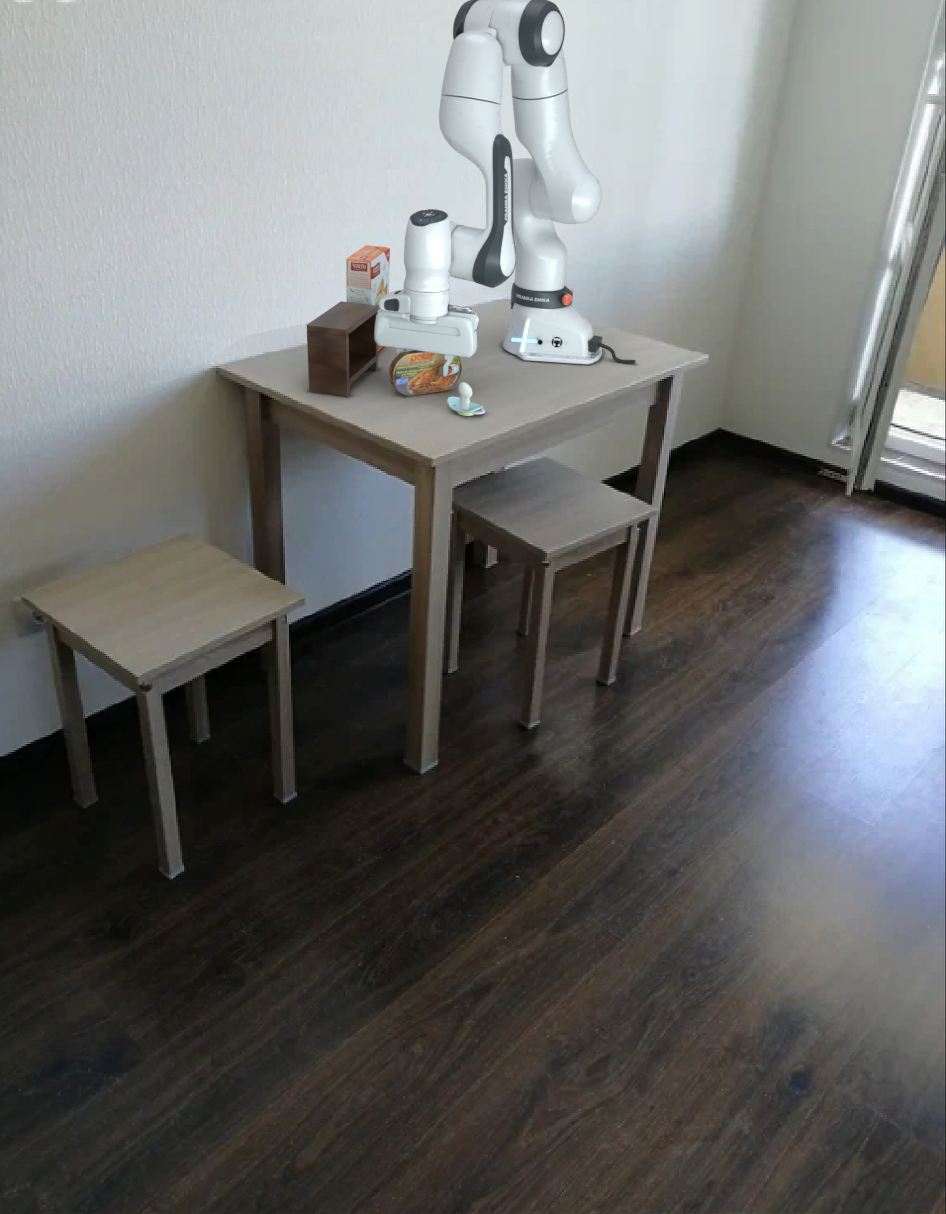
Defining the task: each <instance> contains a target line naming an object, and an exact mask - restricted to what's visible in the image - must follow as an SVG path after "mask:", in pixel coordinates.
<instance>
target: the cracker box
mask: <svg viewBox="0 0 946 1214" xmlns="http://www.w3.org/2000/svg"><path fill="white" fill-rule="evenodd" d="M345 259H346V260H345V261H346V262H345V265H346V266H345V267H346V269H345V270H346V272H345V273H346V274H345V275H346V278H345V279H346V282H345V284H346V286H345V287H346V290H345V291H346V302H350V303H359V304H367V305H375V306H378V313H379V312H380V311H381V309H380V308H379V301H380V299H381V298H382V297H384V296H385V295H386V294H388V293H390V267H391V266H390V265H391V263H390V261H391V248H390V247H388V246H379V245H369V244H368V245H363V247H361V248H360V249H358V250H356V251H355V252H354V253H352V254H351V255H350V256H348V257H346V258H345ZM384 347H385V346H378V353H379V352H380V351H381V350H382V349H383V348H384Z"/></svg>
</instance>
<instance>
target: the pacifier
mask: <svg viewBox="0 0 946 1214" xmlns="http://www.w3.org/2000/svg"><path fill="white" fill-rule="evenodd" d="M457 391H458V394H459V395H460V397H458V396H449V397H448V398H447V401H446V402H447V406H448V407H449V408H450V409H452V410H453V411H456V413H457V415H460V416H463V417H472V416H476V415H478V416H479V415H484V414H485V413H486V409H485V408H484V405H483V404H479V403H475V402H472V401H471V398H472V397H473V389H472V387H471V386H470V384H468V383H467V382H464V381H462V382H460V383H459V385H458V387H457Z"/></svg>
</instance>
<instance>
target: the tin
mask: <svg viewBox="0 0 946 1214" xmlns="http://www.w3.org/2000/svg"><path fill="white" fill-rule="evenodd" d="M446 362H447V360H445V354H438V353H430V352H423V351H415V350H408V351H405V352H403V353H401V354H399V355H396V356H395V357H394V358H393V360H392V361H391V363H390V365H389V370H388V376H389V381H390V383H391V385H392V387H393V388H394V389H395V390H397V391H398V392H399V393H400V394H402V395H404V396H408V397H412V396H419V395H425V394H432V393H441V392H446V391H449V390H451V389H452V388H453V387H454V386H455V385H457V383H458V382H459V380H460V378H461V375H462V369H463V368H462V367H463V365H462V361H461V357H460V356H454V359H453V360H452V362H451V363H450V365H449V366H448V375H447V376H440V375H439V367H440V365H445V363H446Z"/></svg>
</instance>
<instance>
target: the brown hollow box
mask: <svg viewBox="0 0 946 1214" xmlns="http://www.w3.org/2000/svg"><path fill="white" fill-rule="evenodd" d="M377 314H378V306H375V305H367V304H359V303H350V302H347V301H343V300H341V301H339V302H338V303H336V304H334V305H333V306H331V307H330V308H329V309H328V310H326V311H324V312H323V313H321V314H320V315H319V316H317V317H315V318H314V319H313V320H312V321H310V322H308V323H307V324H306V345H307V369H308V370H307V371H308V392H310V393H316V394H323V395H330V396H336V397H344V398H348V397H349V396H350V394H351V393H350V385H352V384H353V383H354V382H355V381H357V379H358V378H360V376H362V375H363V374H364V373H365V372H366V371H367V370H368V371H377V370H378V369H379V352H378V345H377V343H376V342H375V340H374V328H375V320H376V316H377Z"/></svg>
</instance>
